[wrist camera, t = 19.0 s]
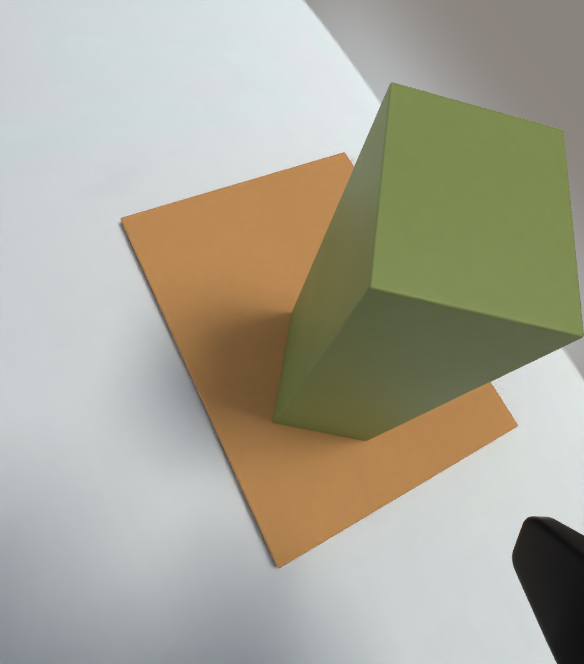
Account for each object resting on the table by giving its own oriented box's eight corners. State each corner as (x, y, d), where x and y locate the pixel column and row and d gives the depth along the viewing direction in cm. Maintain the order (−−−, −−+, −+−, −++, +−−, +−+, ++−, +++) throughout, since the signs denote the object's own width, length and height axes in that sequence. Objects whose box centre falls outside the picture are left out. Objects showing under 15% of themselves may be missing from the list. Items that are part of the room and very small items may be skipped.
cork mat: (342, 157, 25) (344, 151, 25) (513, 427, 21) (518, 425, 21) (121, 223, 21) (120, 217, 21) (277, 567, 17) (278, 568, 17)
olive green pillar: (367, 441, 19) (585, 337, 8) (272, 422, 19) (369, 288, 8) (377, 331, 21) (564, 129, 10) (291, 312, 21) (390, 81, 10)
